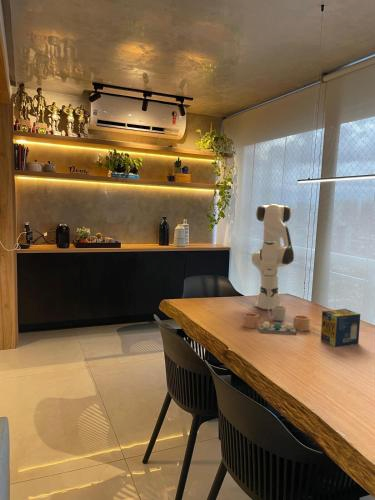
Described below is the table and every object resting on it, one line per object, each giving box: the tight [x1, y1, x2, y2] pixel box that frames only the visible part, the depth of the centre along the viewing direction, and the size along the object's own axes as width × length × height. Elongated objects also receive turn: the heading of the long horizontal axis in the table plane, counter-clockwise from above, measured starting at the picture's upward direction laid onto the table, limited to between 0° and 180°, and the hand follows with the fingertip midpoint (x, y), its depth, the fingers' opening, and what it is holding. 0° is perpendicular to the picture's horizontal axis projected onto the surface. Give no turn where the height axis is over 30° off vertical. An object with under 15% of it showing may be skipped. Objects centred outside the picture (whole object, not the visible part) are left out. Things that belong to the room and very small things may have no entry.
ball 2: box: [273, 321, 282, 330], centre depth 204 cm, size 4×4×4 cm
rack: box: [258, 325, 297, 335], centre depth 204 cm, size 19×8×2 cm, turn 83°
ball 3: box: [284, 322, 293, 330], centre depth 203 cm, size 4×4×4 cm
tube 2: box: [292, 314, 311, 332], centre depth 209 cm, size 9×9×7 cm
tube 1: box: [242, 312, 260, 329], centre depth 213 cm, size 9×9×7 cm
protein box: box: [320, 308, 361, 348], centre depth 188 cm, size 10×15×16 cm
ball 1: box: [262, 321, 271, 329], centre depth 205 cm, size 4×4×4 cm
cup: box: [267, 305, 287, 322], centre depth 226 cm, size 11×8×8 cm
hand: (268, 295), depth 204 cm, fingers open, 8 cm apart
